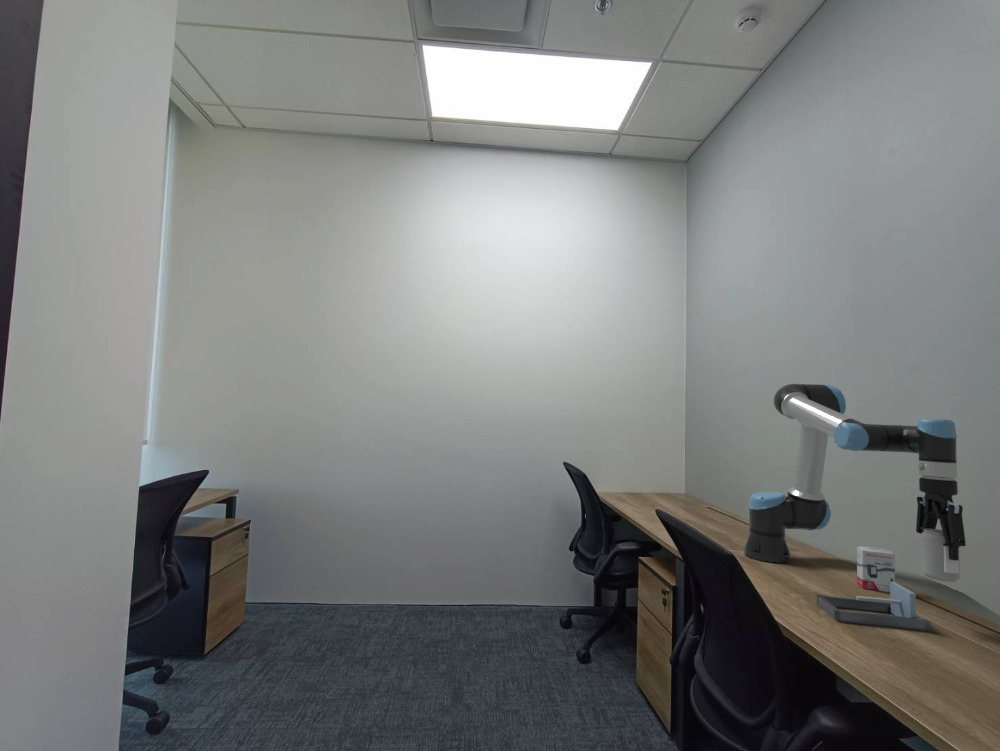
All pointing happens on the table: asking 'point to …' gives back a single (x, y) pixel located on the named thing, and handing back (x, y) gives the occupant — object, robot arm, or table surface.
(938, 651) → the table surface
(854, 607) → the frame
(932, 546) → the can
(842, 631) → the table surface
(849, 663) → the table surface
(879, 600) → the pusher
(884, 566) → the ink box
